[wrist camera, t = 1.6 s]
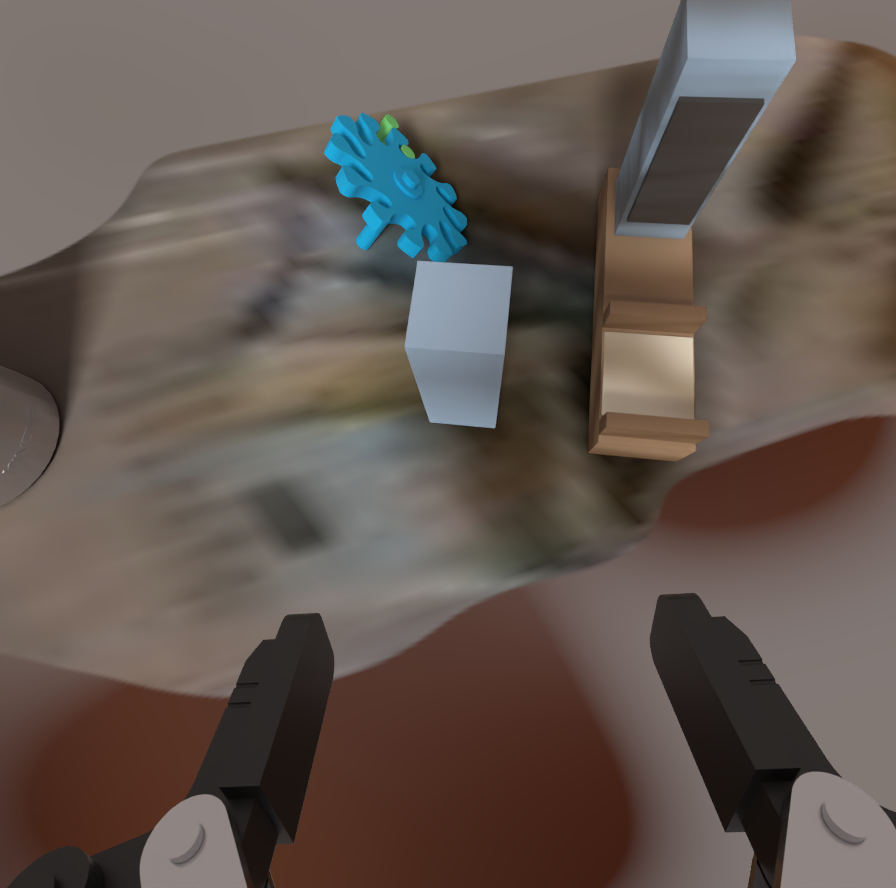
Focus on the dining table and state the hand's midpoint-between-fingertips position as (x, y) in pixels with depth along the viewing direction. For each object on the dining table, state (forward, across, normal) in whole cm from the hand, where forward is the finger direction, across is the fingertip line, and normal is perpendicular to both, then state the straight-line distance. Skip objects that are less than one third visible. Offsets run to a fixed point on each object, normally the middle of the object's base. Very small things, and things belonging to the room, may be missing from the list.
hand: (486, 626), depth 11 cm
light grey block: (+19, 0, +2) cm, 19 cm away
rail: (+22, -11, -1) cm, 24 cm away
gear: (+28, +3, -7) cm, 29 cm away
